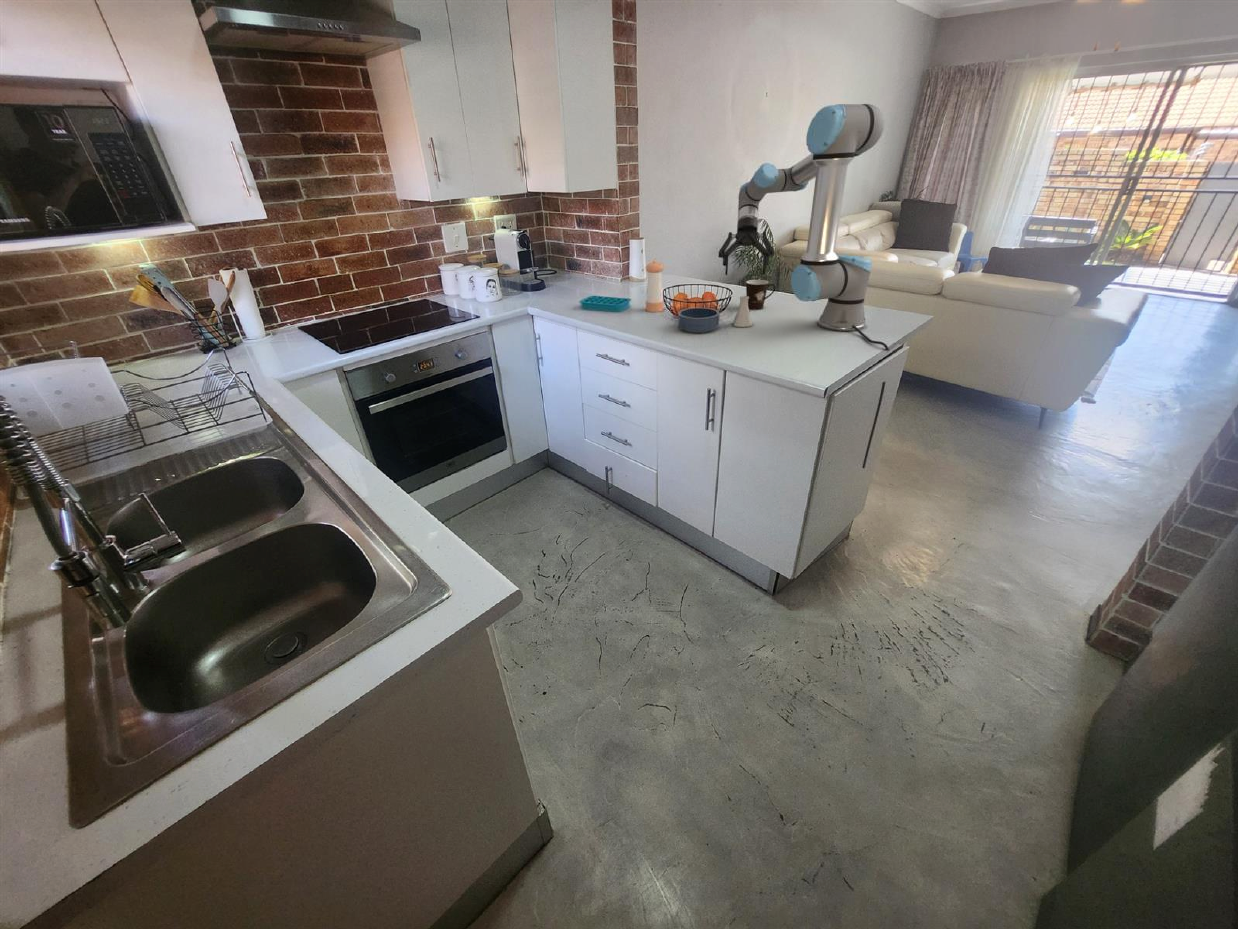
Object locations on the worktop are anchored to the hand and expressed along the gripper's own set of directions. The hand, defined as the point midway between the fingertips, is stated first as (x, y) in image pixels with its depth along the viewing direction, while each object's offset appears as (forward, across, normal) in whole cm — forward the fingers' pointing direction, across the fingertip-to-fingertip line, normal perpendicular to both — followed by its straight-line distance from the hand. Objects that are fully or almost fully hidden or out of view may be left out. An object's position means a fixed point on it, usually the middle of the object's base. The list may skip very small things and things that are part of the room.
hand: (745, 272), depth 186 cm
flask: (+19, 0, -4) cm, 20 cm away
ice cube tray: (+2, +57, -21) cm, 60 cm away
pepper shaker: (+5, +35, -18) cm, 40 cm away
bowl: (+22, +16, -1) cm, 27 cm away
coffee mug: (+2, -7, -21) cm, 22 cm away
